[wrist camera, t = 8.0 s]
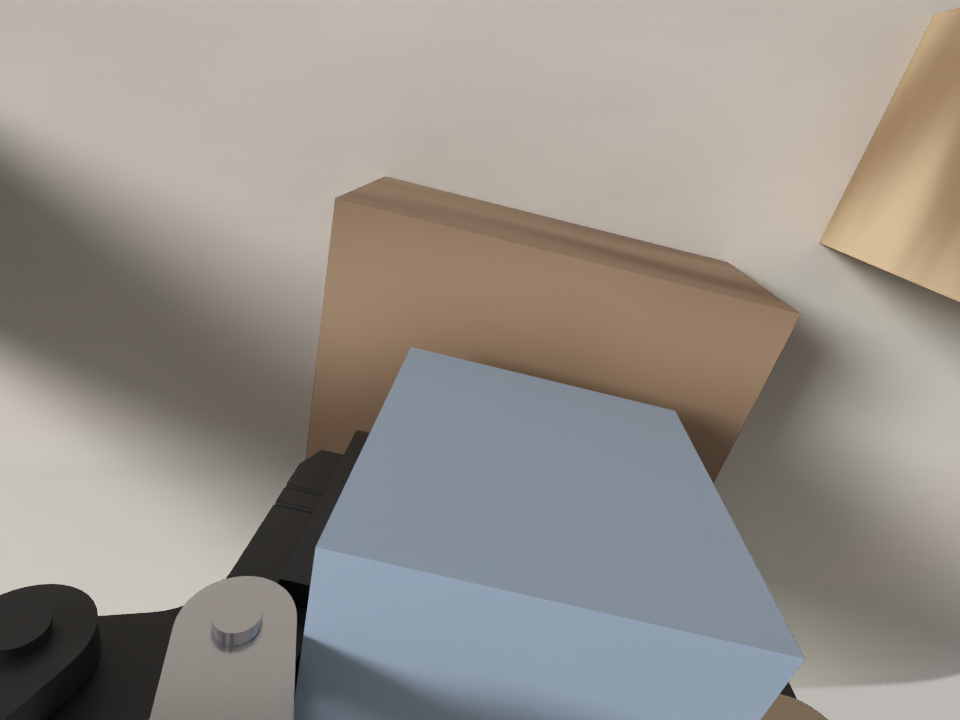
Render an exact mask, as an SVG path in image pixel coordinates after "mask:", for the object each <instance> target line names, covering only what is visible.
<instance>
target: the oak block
mask: <svg viewBox="0 0 960 720" xmlns="http://www.w3.org/2000/svg"><path fill="white" fill-rule="evenodd" d="M819 243H821V244H823V245H826V246H828V247H830V248H833V249H835V250H838V251H840V252H842V253H845V254H847V255H849V256H852V257H854V258H856V259H859V260H861V261H864V262H866V263H868V264H871V265H873V266H875V267H878V268H880V269H883V270H885V271H887V272H890V273H892V274H894V275H897V276H899V277H902V278H904V279H906V280H909V281H911V282H913V283H916V284H918V285H920V286H923V287H925V288H928V289H930V290H932V291H935V292H937V293H939V294H942V295H944V296H947V297H949V298H951V299H954V300H956V301H958V302H960V8H958V9H954V10H950V11H946V12H942V13H938V14H934V15H933V17H932V19H931V21H930V23H929V25H928V27H927V29H926V31H925V33H924V35H923V37H922V39H921V41H920V43H919V45H918V47H917V49H916V51H915V53H914V55H913V57H912V59H911V61H910V63H909V65H908V67H907V69H906V71H905V73H904V75H903V77H902V79H901V81H900V83H899V85H898V87H897V89H896V91H895V93H894V95H893V97H892V99H891V101H890V103H889V105H888V107H887V109H886V111H885V113H884V115H883V117H882V119H881V121H880V123H879V125H878V127H877V129H876V131H875V133H874V135H873V137H872V139H871V141H870V142H869V144H868V146H867V148H866V150H865V152H864V154H863V156H862V158H861V160H860V162H859V164H858V166H857V168H856V170H855V172H854V174H853V176H852V178H851V180H850V182H849V184H848V186H847V188H846V190H845V192H844V194H843V196H842V198H841V200H840V202H839V204H838V206H837V208H836V210H835V212H834V214H833V216H832V218H831V220H830V222H829V224H828V226H827V228H826V230H825V232H824V234H823V236H822V238H821V240H820V242H819Z"/></svg>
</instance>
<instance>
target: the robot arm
mask: <svg viewBox="0 0 960 720" xmlns="http://www.w3.org/2000/svg"><path fill="white" fill-rule="evenodd" d="M369 434H370V432H365V431H361V430H357V431H356V432H355V434H354V436H353V438H352V440H351V442H350V444H349V445H348V447H347V449H346V451H345V453H344V455H343V454H338V453H334V452H330V451H326V450H320V451H319V452H317V453H316V454H314V455H313V456H311V457H309V458H308V459H306V460H305V461H303V462H302V463H300V464H299V466H298V467H297V469H296V470H295V472H294V474H293V475H292V477H291V478H290V480H289V481H288V483H287V486H286V488H284V489H283V491H282V492H281V494H280V496H279V497H278V499H277V500H276V504H275V505H273V507H272V508H271V510H270V511H269V513H268V514H267V516H266V518H265V519H264V521H263V522H262V524H261V525H260V527H259V529H258V530H257V532H256V533H255V535H254V536H253V538H252V540H251V541H250V543H249V544H248V546H247V547H246V549H245V551H244V552H243V554H242V555H241V557H240V558H239V560H238V562H237V563H236V565H235V566H234V568H233V569H232V571H231V572H230V574H229V575H228V576H227V578H226V579H223V580H221V581H218V582H215V583H213V584H211V585H209V586H207V587H205V588H204V589H202V590H201V591H199V592H198V593H196V594H195V595H194V596H193V597H192V598H191V599H189V600H188V601H187V603H186V604H185V605H184V606H181V607H179V608H175V609H171V610H166V611H159V612H151V613H136V614H122V615H108V616H98V614H97V608H96V606H95V603H94V601H93V600H92V599H91V598H90V597H89V595H87V594H86V593H84V592H83V591H81V590H79V589H77V588H74V587H71V586H66V585H58V584H44V585H35V586H29V587H24V588H20V589H17V590H13V591H10V592H7V593H5V594H2V595H0V720H293V718H294V701H295V693H296V686H297V679H298V671H299V664H300V657H301V649H302V642H303V635H304V628H305V620H306V613H307V606H308V598H309V591H310V584H311V576H312V569H313V562H314V555H315V547H316V545H317V543H318V541H319V539H320V537H321V535H322V532H323V530H324V528H325V526H326V524H327V522H328V520H329V518H330V516H331V514H332V511H333V509H334V507H335V505H336V503H337V501H338V499H339V497H340V495H341V493H342V490H343V488H344V486H345V484H346V482H347V480H348V478H349V476H350V474H351V472H352V470H353V467H354V465H355V463H356V461H357V459H358V457H359V455H360V453H361V451H362V449H363V446H364V444H365V442H366V440H367V438H368V436H369ZM761 720H828V719H826V718H825V717H824V716H823V715H822V714H820V713H819V712H818V711H816V710H815V709H813V708H812V707H810V706H809V705H807V704H805V703H803V702H802V701H799V700H797V699H796V696H795V694H794V692H793V690H792V688H791V686H790V684H789V682H788V683H787V685H786V686H785V687H784V689H783V690H782V691H781V693H780V694H779V695H778V697H777V698H776V699H775V701H774V702H773V704H772V705H771V706H770V708H769V709H768V710H767V712H766V713H765V714H764V716H763V717H762V718H761Z"/></svg>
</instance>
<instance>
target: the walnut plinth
mask: <svg viewBox="0 0 960 720" xmlns="http://www.w3.org/2000/svg"><path fill="white" fill-rule="evenodd" d="M800 315H801V314H800V313H799V312H797V311H796V310H794V309H793V308H791V307H790V306H789V305H787V304H786V303H784V302H783V301H782V300H780V299H779V298H777V297H776V296H774V295H773V294H772V293H770V292H769V291H767V290H766V289H764V288H763V287H762V286H760V285H759V284H757V283H756V282H754V281H753V280H752V279H750V278H749V277H747V276H746V275H745V274H743V273H742V272H740V271H739V270H737V269H736V268H735V267H733V266H732V265H730V264H729V263H727V262H724V261H720V260H716V259H712V258H708V257H704V256H700V255H696V254H692V253H688V252H684V251H680V250H676V249H672V248H668V247H664V246H660V245H656V244H652V243H648V242H644V241H640V240H636V239H632V238H628V237H624V236H620V235H616V234H612V233H608V232H604V231H600V230H596V229H592V228H588V227H584V226H580V225H576V224H572V223H568V222H565V221H561V220H557V219H553V218H549V217H545V216H541V215H537V214H533V213H529V212H525V211H521V210H517V209H513V208H509V207H505V206H501V205H497V204H493V203H489V202H485V201H481V200H477V199H473V198H469V197H465V196H461V195H457V194H453V193H449V192H445V191H441V190H437V189H433V188H429V187H425V186H421V185H417V184H413V183H409V182H405V181H401V180H397V179H393V178H389V177H383V178H381V179H378V180H376V181H374V182H371V183H369V184H367V185H364V186H362V187H360V188H358V189H355V190H353V191H351V192H348V193H346V194H344V195H342V196H339V197H337V198H335V205H334V214H333V223H332V231H331V240H330V249H329V258H328V266H327V275H326V284H325V293H324V302H323V310H322V319H321V328H320V337H319V346H318V354H317V363H316V372H315V381H314V390H313V398H312V407H311V416H310V425H309V434H308V442H307V451H306V459H308V458H309V457H311V456H313V455H314V454H316V453H317V452H319V451H320V450H326V451H330V452H334V453H338V454H343V455H344V453H345V451H346V449H347V447H348V445H349V444H350V442H351V440H352V438H353V436H354V434H355V432H356V431H357V430H361V431H365V432H371V430H372V428H373V425H374V423H375V421H376V419H377V417H378V415H379V413H380V411H381V409H382V407H383V404H384V402H385V400H386V398H387V396H388V394H389V392H390V390H391V388H392V386H393V383H394V381H395V379H396V377H397V375H398V373H399V371H400V369H401V367H402V365H403V362H404V360H405V358H406V356H407V354H408V352H409V350H410V348H411V347H414V348H418V349H422V350H426V351H430V352H434V353H439V354H443V355H447V356H451V357H455V358H459V359H463V360H467V361H472V362H476V363H480V364H484V365H488V366H492V367H496V368H501V369H505V370H509V371H513V372H517V373H521V374H525V375H529V376H534V377H538V378H542V379H546V380H550V381H554V382H558V383H562V384H567V385H571V386H575V387H579V388H583V389H587V390H591V391H595V392H600V393H604V394H608V395H612V396H616V397H620V398H624V399H628V400H633V401H637V402H641V403H645V404H649V405H653V406H657V407H661V408H666V409H670V410H674V411H675V412H676V413H677V415H678V417H679V419H680V421H681V423H682V425H683V427H684V429H685V431H686V433H687V434H688V436H689V438H690V440H691V442H692V444H693V446H694V448H695V450H696V452H697V453H698V455H699V457H700V459H701V461H702V463H703V465H704V467H705V469H706V471H707V473H708V474H709V476H710V478H711V480H712V482H713V483H714V481H715V479H716V477H717V475H718V473H719V471H720V469H721V468H722V466H723V464H724V462H725V460H726V458H727V456H728V454H729V452H730V450H731V448H732V446H733V444H734V442H735V440H736V438H737V437H738V435H739V433H740V431H741V429H742V427H743V425H744V423H745V421H746V419H747V417H748V415H749V413H750V411H751V409H752V407H753V406H754V404H755V402H756V400H757V398H758V396H759V394H760V392H761V390H762V388H763V386H764V384H765V382H766V380H767V378H768V376H769V375H770V373H771V371H772V369H773V367H774V365H775V363H776V361H777V359H778V357H779V355H780V353H781V351H782V349H783V347H784V346H785V344H786V342H787V340H788V338H789V336H790V334H791V332H792V330H793V328H794V326H795V324H796V322H797V320H798V318H799V316H800Z"/></svg>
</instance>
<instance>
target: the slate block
mask: <svg viewBox="0 0 960 720" xmlns="http://www.w3.org/2000/svg"><path fill="white" fill-rule="evenodd" d="M804 660H805V657H804V655H803V653H802V652H801V650H800V648H799V646H798V644H797V642H796V640H795V638H794V636H793V634H792V633H791V631H790V629H789V627H788V625H787V623H786V621H785V619H784V617H783V615H782V613H781V612H780V610H779V608H778V606H777V604H776V602H775V600H774V598H773V596H772V594H771V593H770V591H769V589H768V587H767V585H766V583H765V581H764V579H763V577H762V575H761V573H760V572H759V570H758V568H757V566H756V564H755V562H754V560H753V558H752V556H751V554H750V553H749V551H748V549H747V547H746V545H745V543H744V541H743V539H742V537H741V535H740V533H739V532H738V530H737V528H736V526H735V524H734V522H733V520H732V518H731V516H730V514H729V513H728V511H727V509H726V507H725V505H724V503H723V501H722V499H721V497H720V495H719V493H718V492H717V490H716V488H715V486H714V484H713V482H712V480H711V478H710V476H709V474H708V473H707V471H706V469H705V467H704V465H703V463H702V461H701V459H700V457H699V455H698V453H697V452H696V450H695V448H694V446H693V444H692V442H691V440H690V438H689V436H688V434H687V433H686V431H685V429H684V427H683V425H682V423H681V421H680V419H679V417H678V415H677V413H676V412H675V411H674V410H670V409H666V408H661V407H657V406H653V405H649V404H645V403H641V402H637V401H633V400H628V399H624V398H620V397H616V396H612V395H608V394H604V393H600V392H595V391H591V390H587V389H583V388H579V387H575V386H571V385H567V384H562V383H558V382H554V381H550V380H546V379H542V378H538V377H534V376H529V375H525V374H521V373H517V372H513V371H509V370H505V369H501V368H496V367H492V366H488V365H484V364H480V363H476V362H472V361H467V360H463V359H459V358H455V357H451V356H447V355H443V354H439V353H434V352H430V351H426V350H422V349H418V348H414V347H411V348H410V350H409V352H408V354H407V356H406V358H405V360H404V362H403V365H402V367H401V369H400V371H399V373H398V375H397V377H396V379H395V381H394V383H393V386H392V388H391V390H390V392H389V394H388V396H387V398H386V400H385V402H384V404H383V407H382V409H381V411H380V413H379V415H378V417H377V419H376V421H375V423H374V425H373V428H372V430H371V432H370V434H369V436H368V438H367V440H366V442H365V444H364V446H363V449H362V451H361V453H360V455H359V457H358V459H357V461H356V463H355V465H354V467H353V470H352V472H351V474H350V476H349V478H348V480H347V482H346V484H345V486H344V488H343V490H342V493H341V495H340V497H339V499H338V501H337V503H336V505H335V507H334V509H333V511H332V514H331V516H330V518H329V520H328V522H327V524H326V526H325V528H324V530H323V532H322V535H321V537H320V539H319V541H318V543H317V545H316V547H315V555H314V562H313V569H312V576H311V584H310V591H309V598H308V606H307V613H306V620H305V628H304V635H303V642H302V649H301V657H300V664H299V671H298V679H297V686H296V693H295V701H294V718H293V720H761V718H762V717H763V716H764V714H765V713H766V712H767V710H768V709H769V708H770V706H771V705H772V704H773V702H774V701H775V699H776V698H777V697H778V695H779V694H780V693H781V691H782V690H783V689H784V687H785V686H786V685H787V683H788V682H789V681H790V679H791V678H792V676H793V675H794V674H795V672H796V671H797V670H798V668H799V667H800V666H801V664H802V663H803V662H804Z"/></svg>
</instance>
